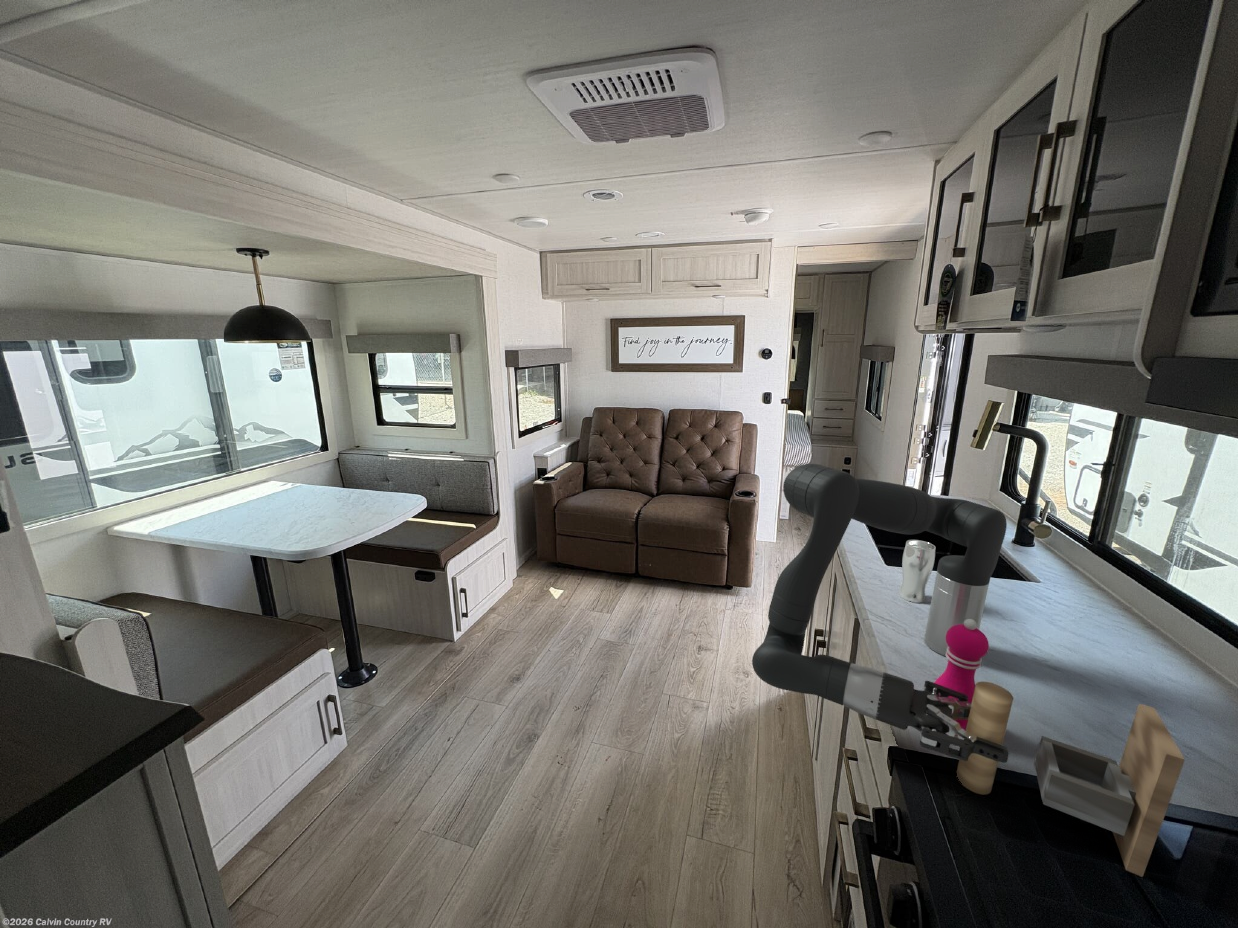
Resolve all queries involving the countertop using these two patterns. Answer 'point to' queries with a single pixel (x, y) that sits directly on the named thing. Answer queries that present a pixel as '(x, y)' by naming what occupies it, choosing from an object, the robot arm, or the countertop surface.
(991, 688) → the oak post
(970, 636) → the pepper mill
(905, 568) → the beer glass
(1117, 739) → the countertop surface
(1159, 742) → the cup bracket
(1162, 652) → the countertop surface
